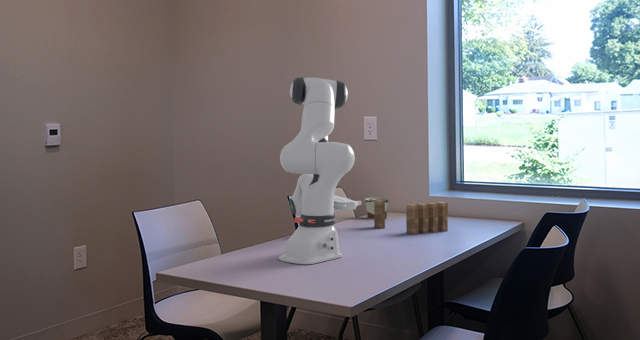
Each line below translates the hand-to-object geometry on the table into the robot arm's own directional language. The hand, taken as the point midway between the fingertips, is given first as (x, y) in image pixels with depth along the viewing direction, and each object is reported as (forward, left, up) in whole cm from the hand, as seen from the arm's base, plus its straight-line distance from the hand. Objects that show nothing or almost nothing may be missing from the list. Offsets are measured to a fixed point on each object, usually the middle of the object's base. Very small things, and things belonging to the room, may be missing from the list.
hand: (355, 201), depth 230 cm
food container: (+33, +8, -13) cm, 36 cm away
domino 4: (+14, -29, -13) cm, 35 cm away
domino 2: (+5, -24, -13) cm, 28 cm away
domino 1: (+10, -6, -13) cm, 17 cm away
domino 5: (+18, -32, -13) cm, 39 cm away
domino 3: (+10, -27, -13) cm, 31 cm away
